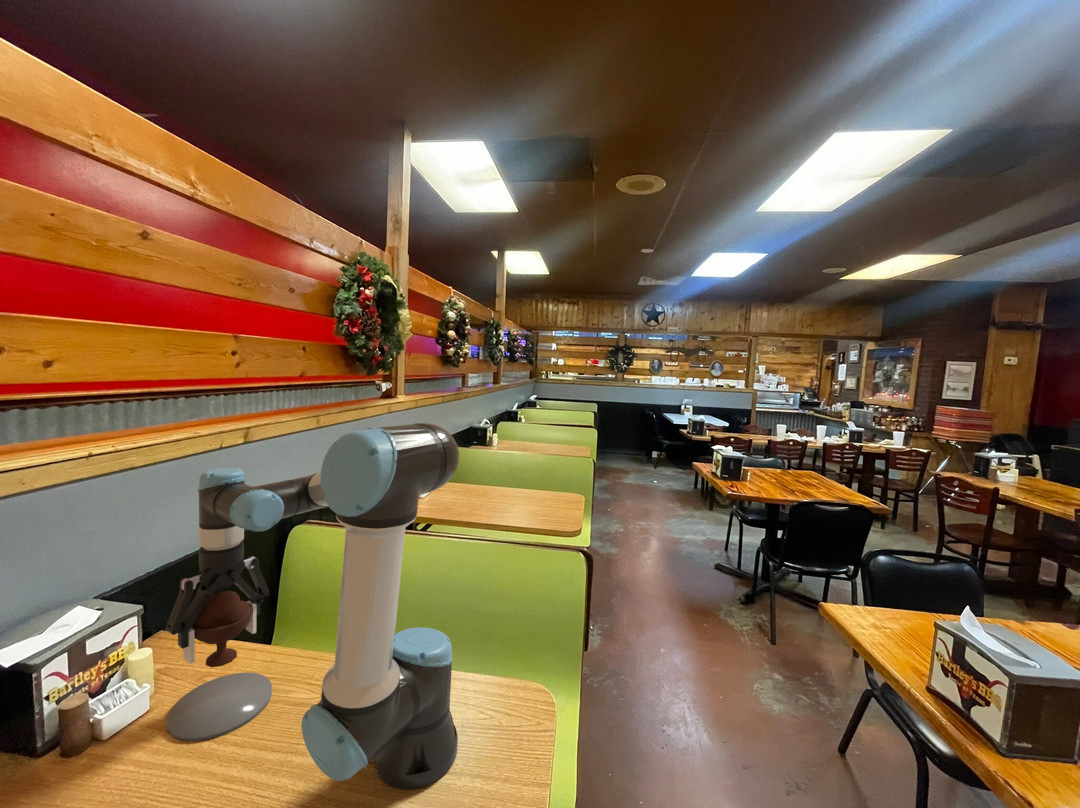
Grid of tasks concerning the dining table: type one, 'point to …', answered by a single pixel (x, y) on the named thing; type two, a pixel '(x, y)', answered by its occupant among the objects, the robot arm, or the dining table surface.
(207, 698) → the grey smooth oval disc
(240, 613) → the ice cream bowl
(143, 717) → the dining table surface
